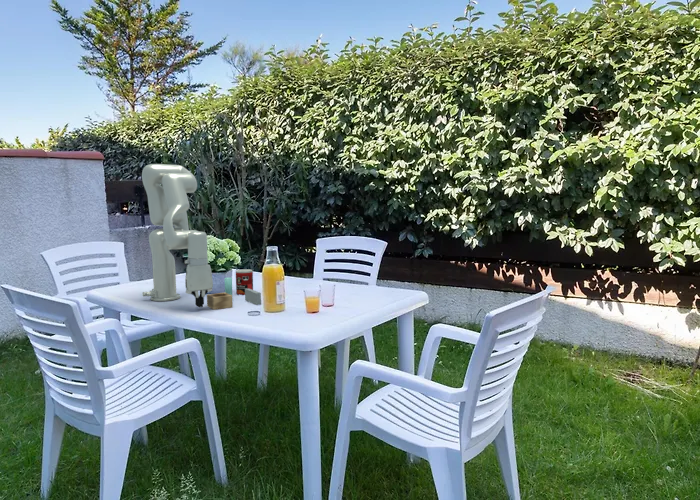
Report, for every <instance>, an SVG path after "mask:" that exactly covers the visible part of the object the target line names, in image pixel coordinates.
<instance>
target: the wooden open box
mask: <svg viewBox="0 0 700 500" xmlns="http://www.w3.org/2000/svg"><path fill="white" fill-rule="evenodd" d="M232 298H233V294H232V295H230V294H228V293H225V291H224V292H218V293H211V294H210V293H207V294H206V306H207V307H208V308H210V309H212V310H213V311H216V310H222V309H223V310H224V309H231V308H233V300H232Z"/></svg>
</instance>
